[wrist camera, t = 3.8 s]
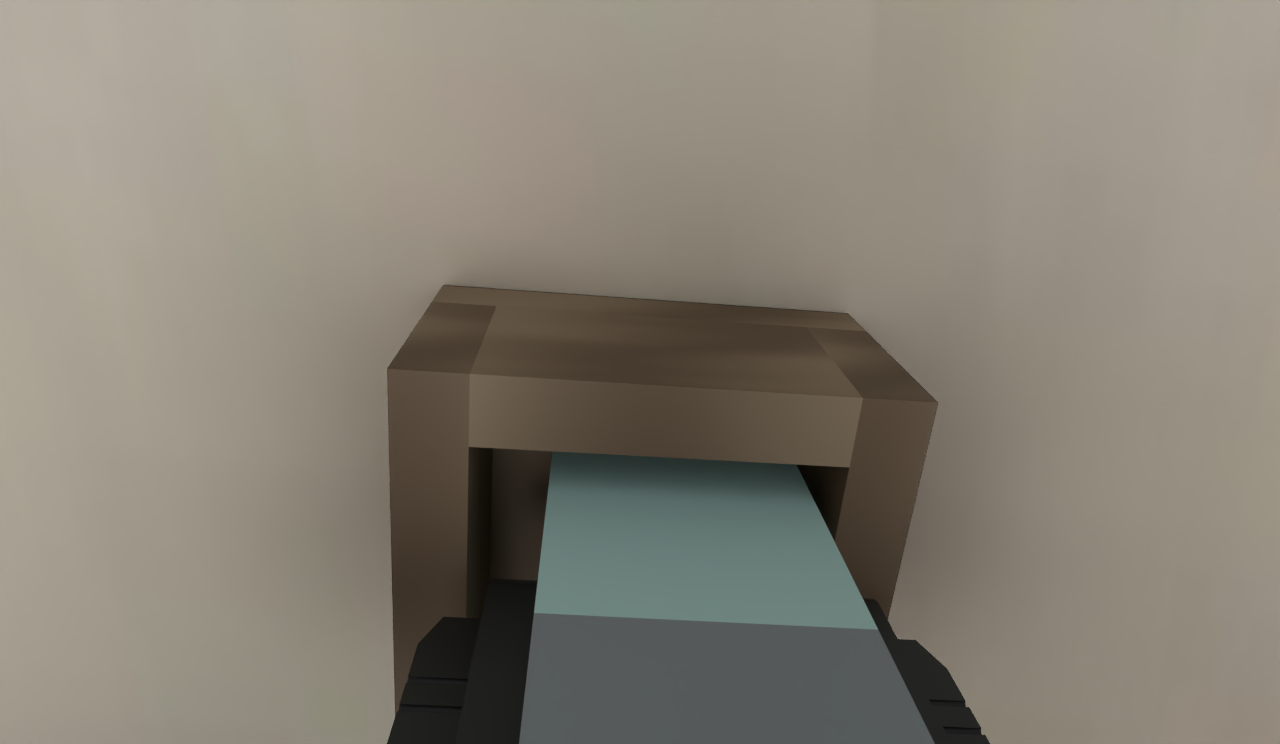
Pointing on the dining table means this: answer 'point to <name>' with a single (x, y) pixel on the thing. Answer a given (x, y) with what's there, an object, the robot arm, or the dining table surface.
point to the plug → (701, 613)
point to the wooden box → (629, 428)
